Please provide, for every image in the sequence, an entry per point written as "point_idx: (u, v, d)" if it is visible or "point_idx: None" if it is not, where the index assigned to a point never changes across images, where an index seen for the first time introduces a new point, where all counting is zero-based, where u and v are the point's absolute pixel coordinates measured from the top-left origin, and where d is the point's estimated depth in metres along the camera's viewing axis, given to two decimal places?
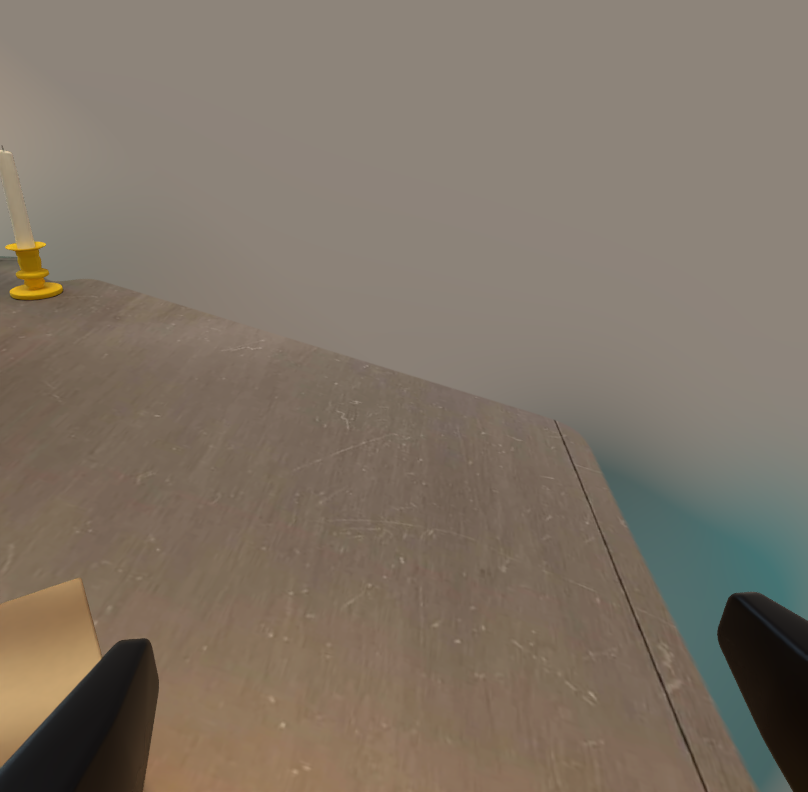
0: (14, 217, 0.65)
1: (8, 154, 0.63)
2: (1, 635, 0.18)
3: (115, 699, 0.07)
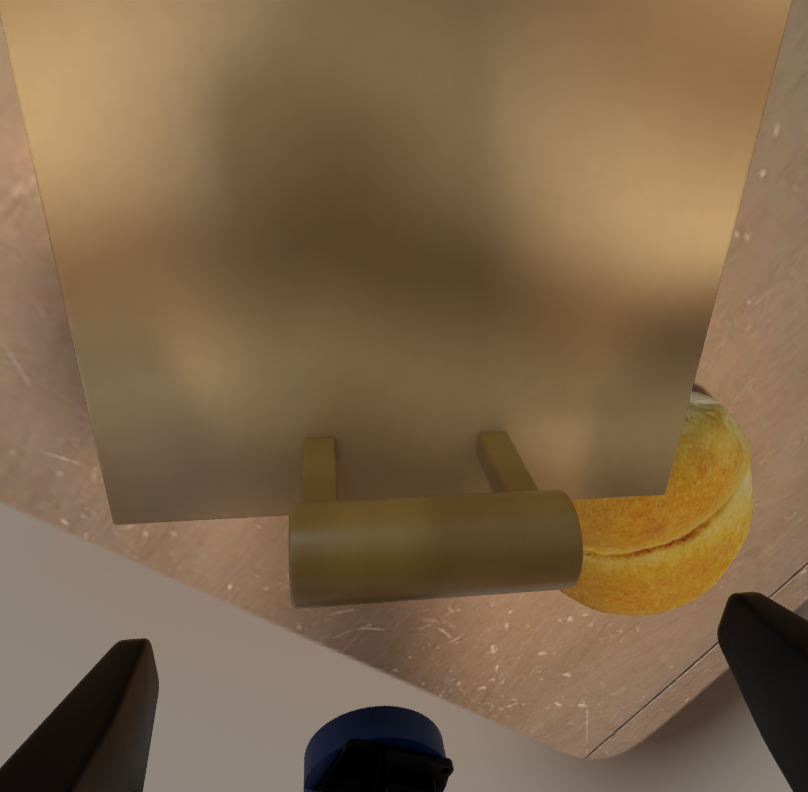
0: None
1: None
2: (658, 68, 0.11)
3: (115, 699, 0.07)
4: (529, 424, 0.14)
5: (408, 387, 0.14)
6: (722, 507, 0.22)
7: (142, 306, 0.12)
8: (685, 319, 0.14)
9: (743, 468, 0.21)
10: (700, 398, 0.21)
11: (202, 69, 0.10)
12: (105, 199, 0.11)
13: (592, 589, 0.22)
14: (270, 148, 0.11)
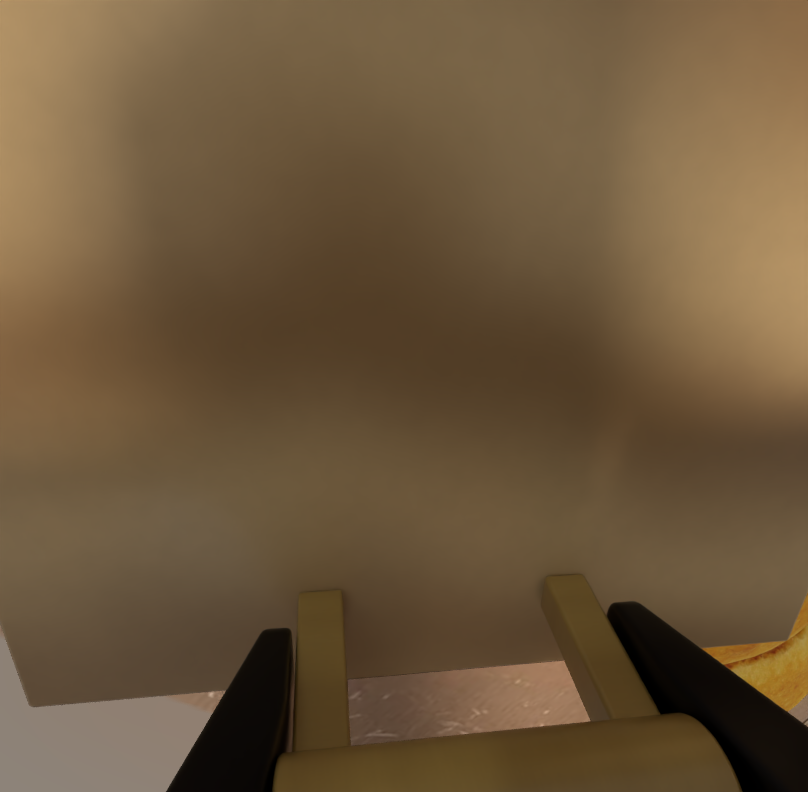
0: None
1: None
2: None
3: (280, 684, 0.08)
4: (615, 562, 0.10)
5: (449, 522, 0.09)
6: None
7: (51, 424, 0.08)
8: None
9: None
10: None
11: (128, 61, 0.06)
12: None
13: None
14: (243, 188, 0.07)
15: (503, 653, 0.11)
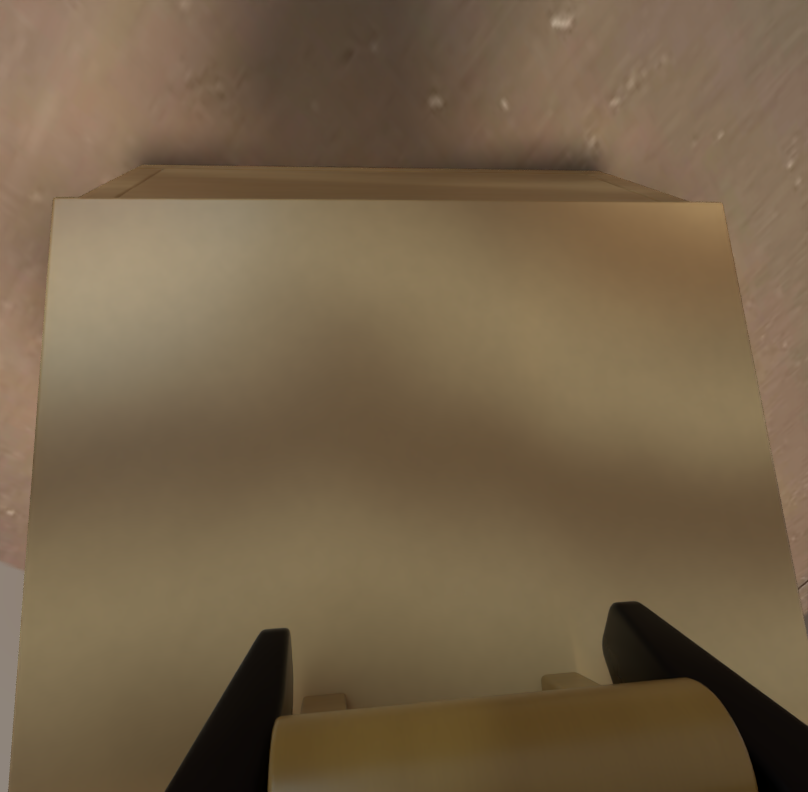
0: None
1: None
2: (630, 266, 0.13)
3: (278, 684, 0.08)
4: None
5: (438, 610, 0.11)
6: None
7: (119, 512, 0.10)
8: (752, 503, 0.12)
9: None
10: None
11: (219, 282, 0.12)
12: (103, 397, 0.11)
13: None
14: (277, 343, 0.11)
15: None
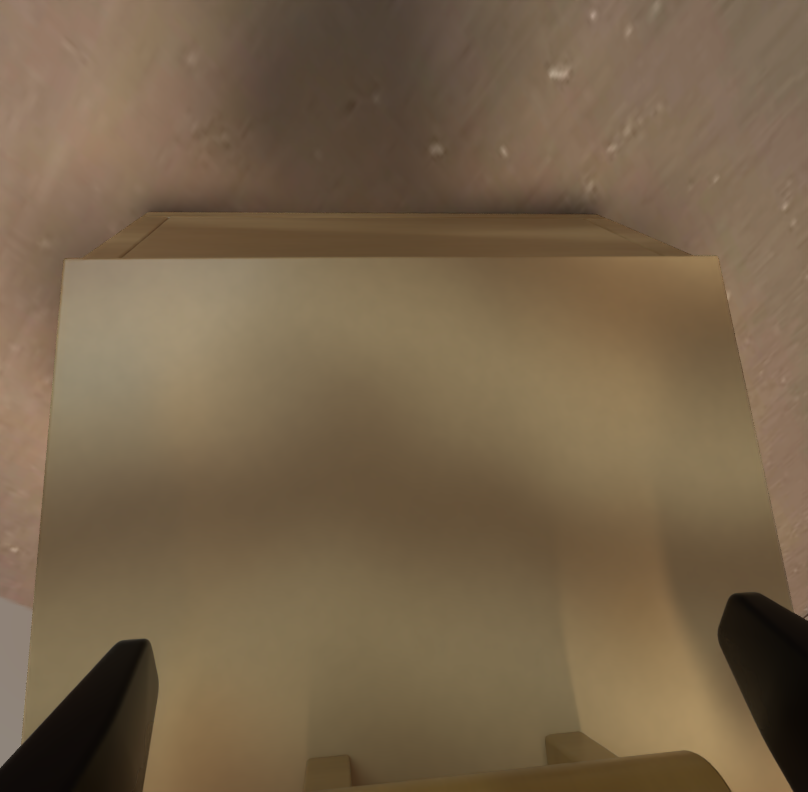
0: None
1: None
2: (628, 320, 0.13)
3: (115, 699, 0.07)
4: (610, 719, 0.11)
5: (442, 668, 0.11)
6: None
7: (125, 572, 0.10)
8: (753, 557, 0.12)
9: None
10: None
11: (225, 340, 0.12)
12: (111, 456, 0.11)
13: None
14: (281, 401, 0.12)
15: None
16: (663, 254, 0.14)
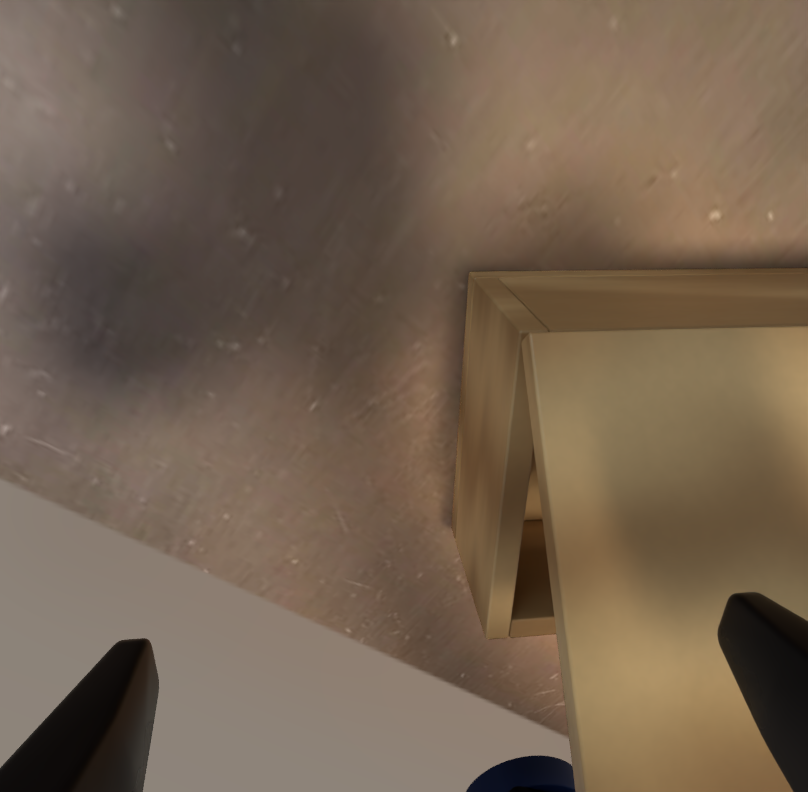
0: None
1: None
2: None
3: (115, 699, 0.07)
4: None
5: None
6: None
7: (626, 589, 0.13)
8: None
9: None
10: None
11: (664, 399, 0.15)
12: (598, 495, 0.14)
13: None
14: (715, 448, 0.14)
15: None
16: None
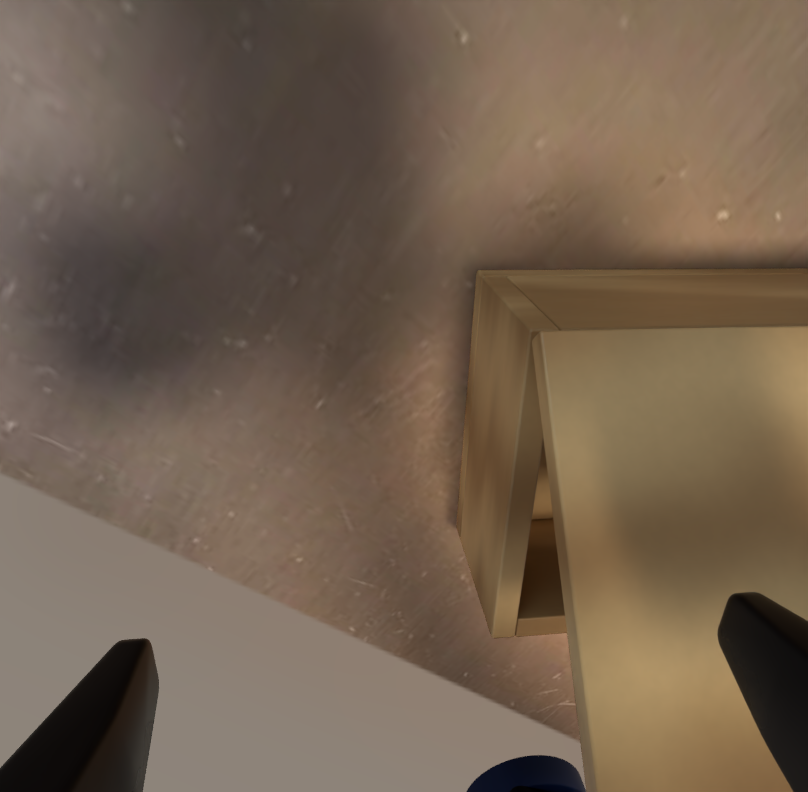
0: None
1: None
2: None
3: (115, 699, 0.07)
4: None
5: None
6: None
7: (637, 587, 0.13)
8: None
9: None
10: None
11: (674, 398, 0.14)
12: (609, 494, 0.14)
13: None
14: (726, 448, 0.14)
15: None
16: None
